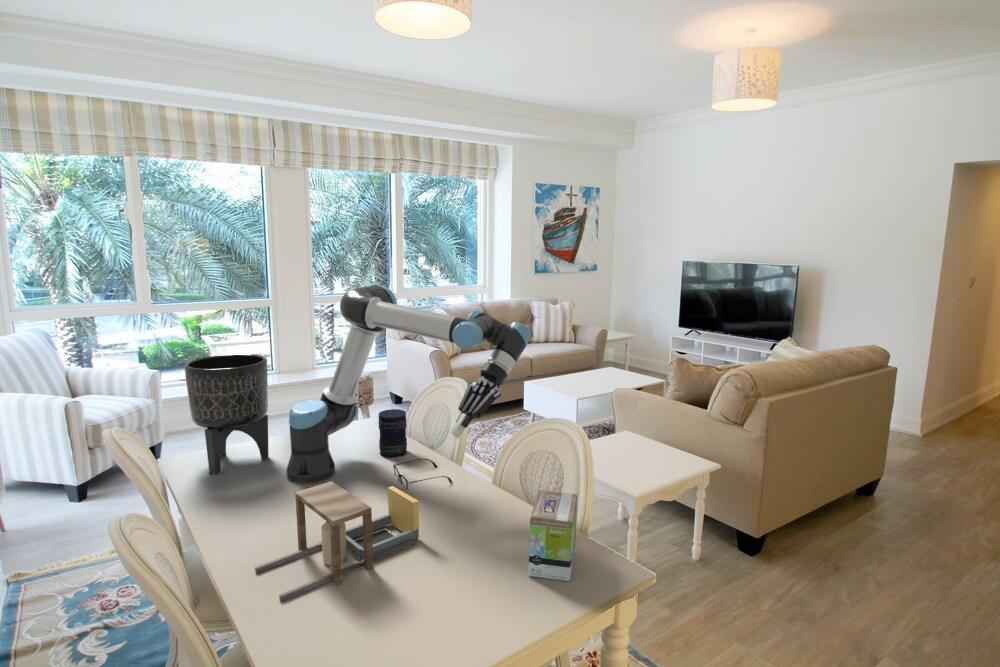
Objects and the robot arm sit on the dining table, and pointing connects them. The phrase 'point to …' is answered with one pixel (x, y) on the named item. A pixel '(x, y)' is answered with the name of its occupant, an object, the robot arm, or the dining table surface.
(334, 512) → the wooden stand with rails
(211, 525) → the dining table surface
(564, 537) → the tea box
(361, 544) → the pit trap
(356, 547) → the yellow panel grey frame
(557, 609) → the dining table surface
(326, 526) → the candle
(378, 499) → the dining table surface
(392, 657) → the dining table surface
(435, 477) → the eyeglasses
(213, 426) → the planter
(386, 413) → the dark blue cylinder
